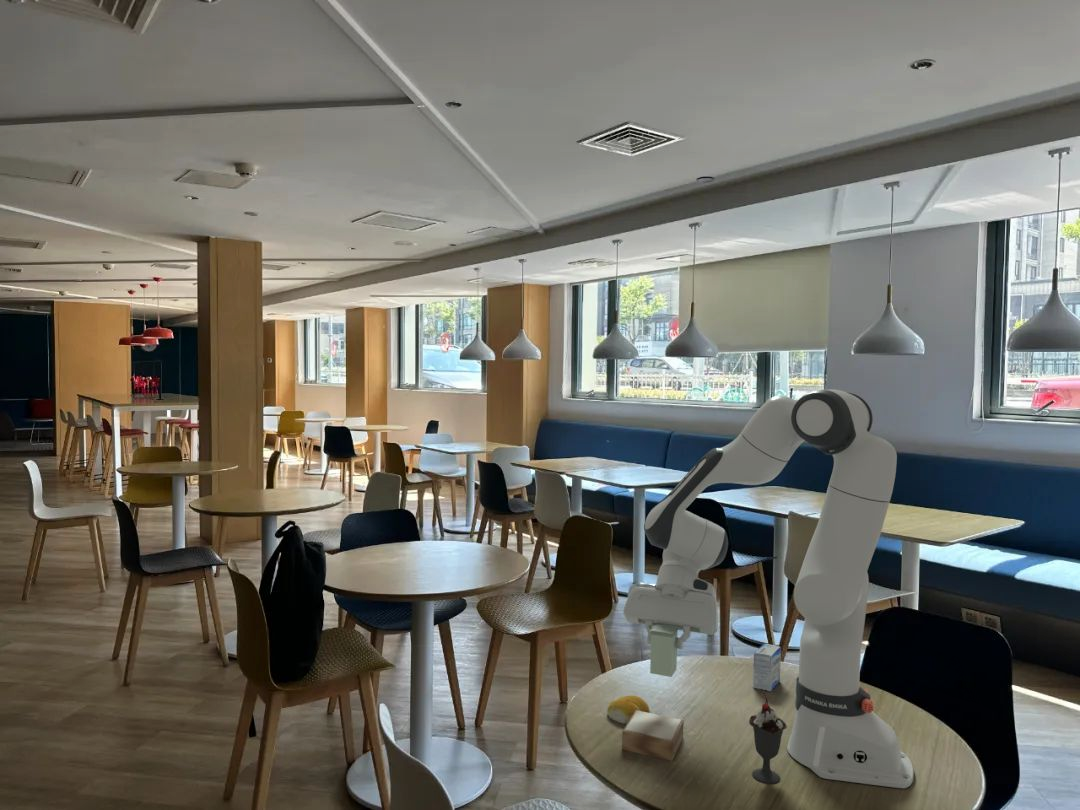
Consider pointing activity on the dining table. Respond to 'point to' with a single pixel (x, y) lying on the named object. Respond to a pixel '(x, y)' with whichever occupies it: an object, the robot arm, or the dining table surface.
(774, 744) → the sundae
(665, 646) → the green pillar block
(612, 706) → the bread roll
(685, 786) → the dining table surface
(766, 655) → the medicine box
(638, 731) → the wooden square block
